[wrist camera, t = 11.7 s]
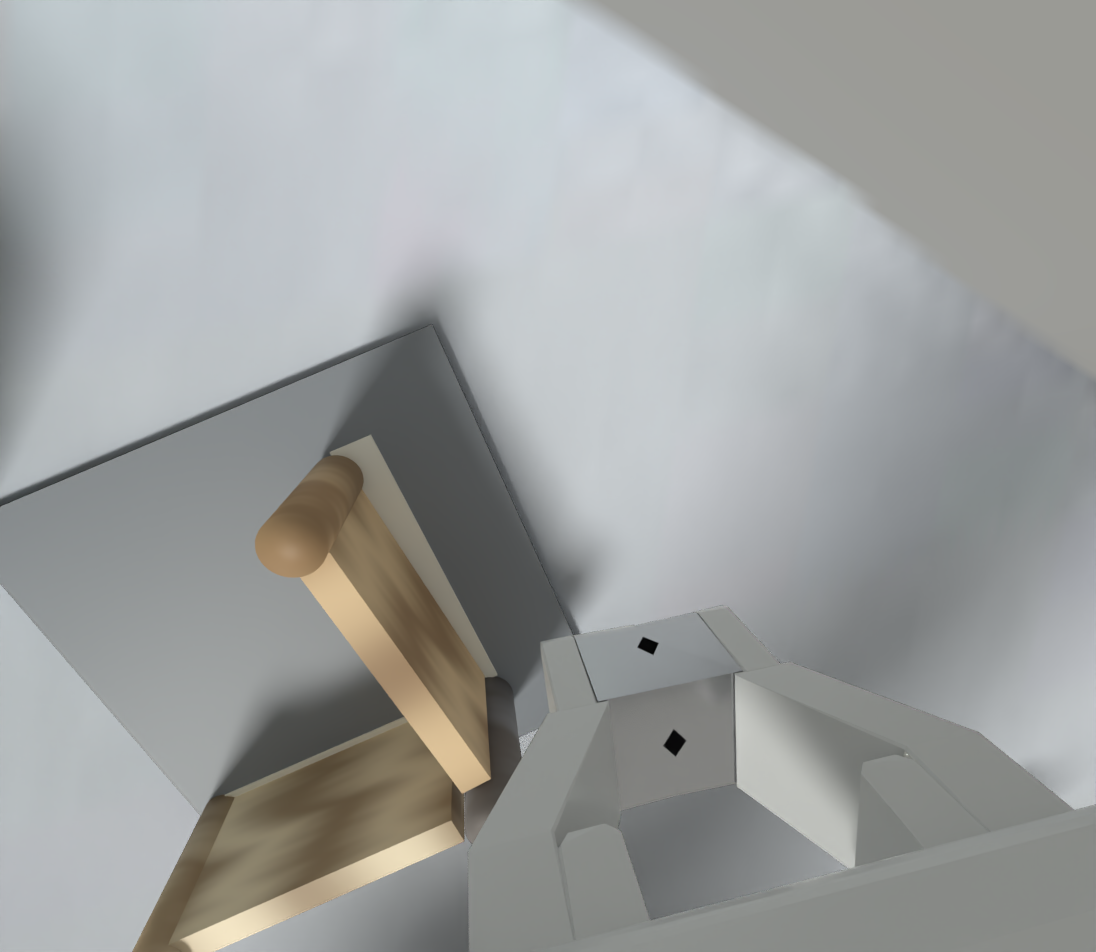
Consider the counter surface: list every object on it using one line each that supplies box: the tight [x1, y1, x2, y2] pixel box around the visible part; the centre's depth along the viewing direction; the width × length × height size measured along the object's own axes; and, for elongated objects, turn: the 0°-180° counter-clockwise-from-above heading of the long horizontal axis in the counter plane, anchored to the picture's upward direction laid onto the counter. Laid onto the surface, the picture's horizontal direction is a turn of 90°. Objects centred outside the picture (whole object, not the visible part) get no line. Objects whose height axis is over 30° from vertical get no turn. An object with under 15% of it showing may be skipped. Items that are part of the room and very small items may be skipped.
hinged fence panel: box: [255, 455, 491, 794], centre depth 21 cm, size 12×2×6 cm, turn 26°
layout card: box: [0, 325, 573, 816], centre depth 25 cm, size 20×20×1 cm
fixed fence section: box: [132, 676, 522, 952], centre depth 24 cm, size 16×2×7 cm, turn 112°
